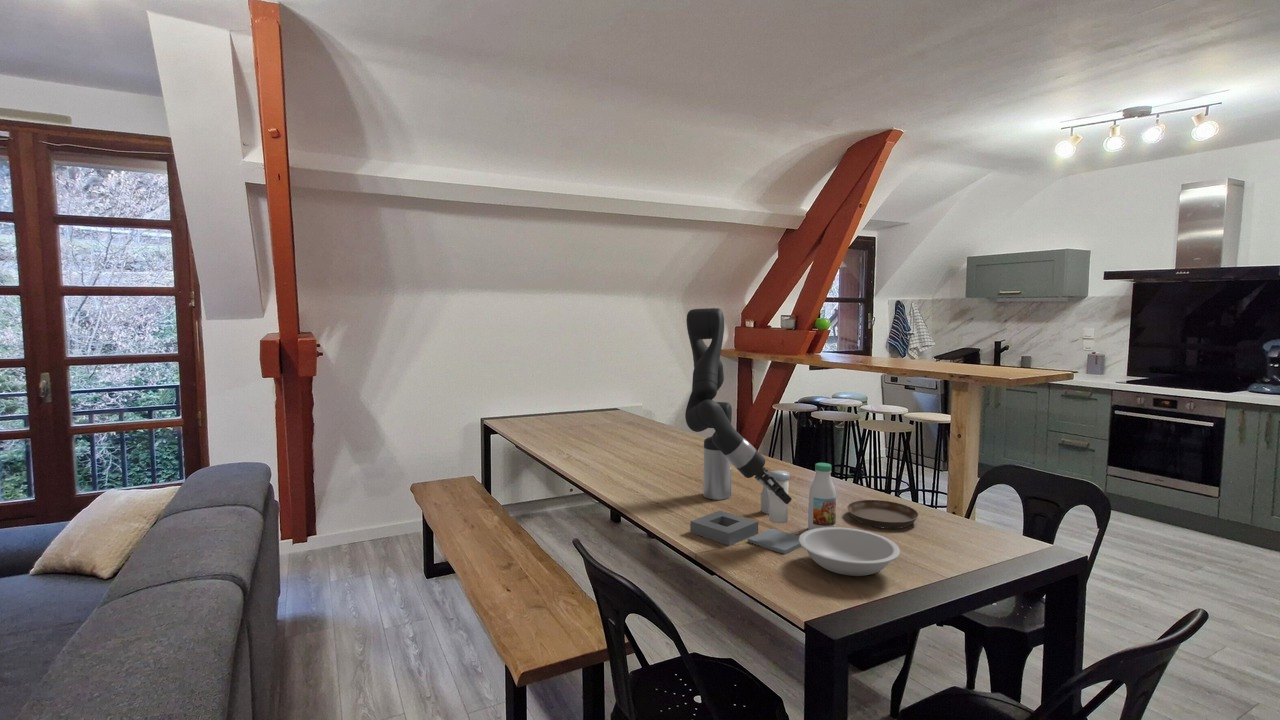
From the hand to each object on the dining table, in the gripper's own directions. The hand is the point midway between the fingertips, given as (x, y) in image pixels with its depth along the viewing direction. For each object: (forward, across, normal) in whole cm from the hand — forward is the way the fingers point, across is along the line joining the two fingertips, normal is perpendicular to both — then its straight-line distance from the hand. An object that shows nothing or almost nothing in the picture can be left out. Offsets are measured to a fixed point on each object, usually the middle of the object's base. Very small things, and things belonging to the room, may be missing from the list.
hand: (785, 498), depth 170 cm
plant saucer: (+35, +15, -17) cm, 42 cm away
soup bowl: (+16, -19, +2) cm, 25 cm away
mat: (+8, 0, +10) cm, 13 cm away
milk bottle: (+19, +7, -1) cm, 20 cm away
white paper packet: (+13, +26, +5) cm, 30 cm away
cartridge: (+3, 0, +6) cm, 6 cm away
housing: (-2, +9, +19) cm, 21 cm away
